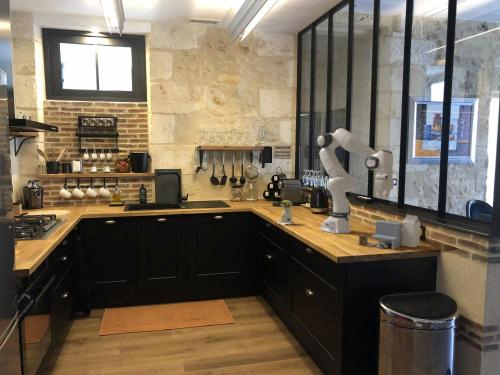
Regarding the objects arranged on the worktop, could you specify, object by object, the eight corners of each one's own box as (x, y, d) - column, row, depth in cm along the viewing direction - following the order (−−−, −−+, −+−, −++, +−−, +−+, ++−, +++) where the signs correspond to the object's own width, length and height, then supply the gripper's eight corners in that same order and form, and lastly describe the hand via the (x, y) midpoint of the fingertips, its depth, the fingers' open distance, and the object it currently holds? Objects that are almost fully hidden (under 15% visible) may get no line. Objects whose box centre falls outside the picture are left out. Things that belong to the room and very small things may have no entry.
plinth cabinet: (370, 245, 246) (371, 222, 244) (379, 242, 255) (380, 220, 254) (393, 249, 237) (394, 225, 235) (401, 245, 246) (402, 222, 245)
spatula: (359, 245, 247) (359, 235, 247) (360, 243, 251) (361, 234, 250) (387, 248, 239) (388, 238, 239) (389, 247, 243) (389, 237, 242)
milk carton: (412, 248, 240) (413, 216, 239) (401, 245, 246) (403, 215, 244) (419, 246, 245) (420, 215, 243) (408, 244, 250) (409, 214, 248)
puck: (376, 248, 240) (376, 245, 240) (377, 247, 243) (377, 244, 243) (382, 249, 238) (383, 246, 237) (384, 248, 241) (384, 245, 241)
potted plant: (284, 221, 324) (284, 198, 322) (297, 223, 315) (297, 200, 313) (274, 223, 316) (274, 200, 314) (287, 225, 307) (287, 201, 305)
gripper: (386, 174, 267) (386, 195, 268) (373, 176, 251) (372, 198, 253) (396, 175, 262) (395, 196, 264) (383, 176, 247) (382, 199, 249)
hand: (384, 197), depth 258 cm, fingers open, 8 cm apart
